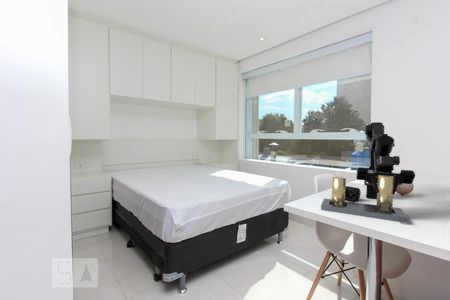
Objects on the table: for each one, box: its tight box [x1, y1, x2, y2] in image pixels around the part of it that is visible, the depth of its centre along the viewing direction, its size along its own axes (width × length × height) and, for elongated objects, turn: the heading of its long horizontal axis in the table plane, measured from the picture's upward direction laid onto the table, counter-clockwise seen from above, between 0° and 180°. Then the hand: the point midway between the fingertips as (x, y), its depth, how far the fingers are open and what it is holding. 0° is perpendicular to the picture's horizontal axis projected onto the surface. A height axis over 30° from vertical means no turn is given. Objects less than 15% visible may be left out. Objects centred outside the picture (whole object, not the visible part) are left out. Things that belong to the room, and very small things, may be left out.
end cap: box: [345, 185, 362, 202], centre depth 110 cm, size 10×7×7 cm
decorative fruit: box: [395, 182, 415, 196], centre depth 118 cm, size 9×8×10 cm
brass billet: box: [376, 175, 394, 211], centre depth 86 cm, size 5×5×13 cm
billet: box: [331, 176, 347, 207], centre depth 94 cm, size 5×5×13 cm
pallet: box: [320, 198, 408, 225], centre depth 91 cm, size 28×12×2 cm, turn 61°
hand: (385, 193), depth 85 cm, fingers closed on brass billet, 5 cm apart
